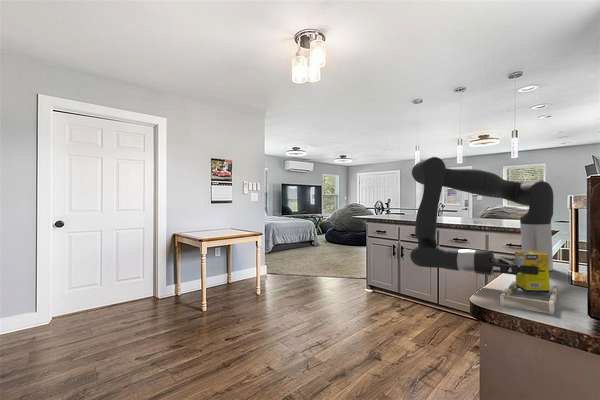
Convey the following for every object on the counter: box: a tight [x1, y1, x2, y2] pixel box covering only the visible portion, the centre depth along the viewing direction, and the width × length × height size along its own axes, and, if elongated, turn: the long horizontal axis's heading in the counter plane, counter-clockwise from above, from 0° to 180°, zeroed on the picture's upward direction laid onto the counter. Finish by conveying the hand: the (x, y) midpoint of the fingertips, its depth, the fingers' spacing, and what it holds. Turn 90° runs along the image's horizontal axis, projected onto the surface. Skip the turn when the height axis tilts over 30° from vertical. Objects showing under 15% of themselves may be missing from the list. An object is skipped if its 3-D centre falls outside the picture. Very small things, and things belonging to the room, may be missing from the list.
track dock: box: [499, 280, 559, 315], centre depth 83 cm, size 22×11×2 cm, turn 137°
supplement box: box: [514, 250, 551, 294], centre depth 87 cm, size 6×6×11 cm
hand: (539, 268), depth 86 cm, fingers open, 8 cm apart
